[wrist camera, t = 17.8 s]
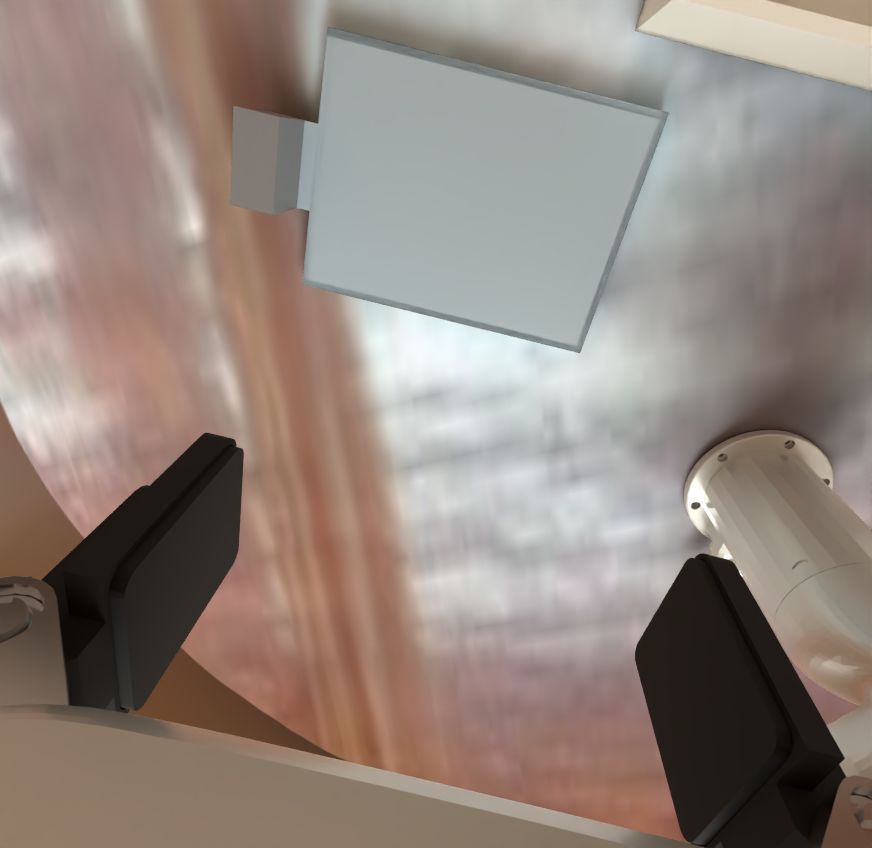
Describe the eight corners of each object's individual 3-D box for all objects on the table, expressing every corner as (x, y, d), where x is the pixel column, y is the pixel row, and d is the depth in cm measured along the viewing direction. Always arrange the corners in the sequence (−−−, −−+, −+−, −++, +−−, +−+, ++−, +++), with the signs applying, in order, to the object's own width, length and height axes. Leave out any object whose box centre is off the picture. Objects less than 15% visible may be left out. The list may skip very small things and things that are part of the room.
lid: (576, 345, 46) (588, 375, 40) (264, 267, 46) (227, 286, 39) (661, 114, 38) (693, 107, 32) (280, 18, 37) (237, -8, 31)
